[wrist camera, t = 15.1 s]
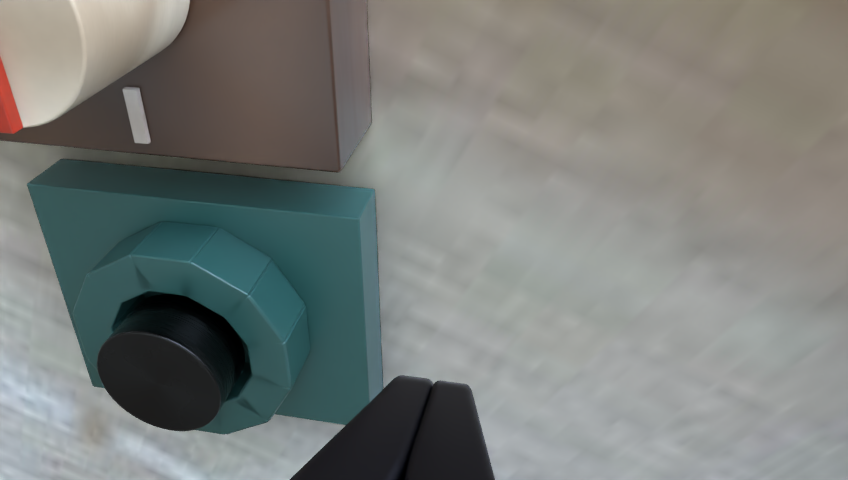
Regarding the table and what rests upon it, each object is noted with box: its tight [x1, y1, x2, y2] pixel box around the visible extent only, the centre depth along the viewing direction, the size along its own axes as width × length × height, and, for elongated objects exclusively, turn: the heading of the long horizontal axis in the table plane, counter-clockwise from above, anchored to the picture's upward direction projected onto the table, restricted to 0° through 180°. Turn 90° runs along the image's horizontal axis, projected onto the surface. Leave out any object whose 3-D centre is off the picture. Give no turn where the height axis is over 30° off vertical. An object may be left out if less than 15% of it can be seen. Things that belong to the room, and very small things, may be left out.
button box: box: [27, 159, 383, 434], centre depth 23 cm, size 10×8×4 cm
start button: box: [97, 294, 245, 431], centre depth 21 cm, size 4×4×2 cm
